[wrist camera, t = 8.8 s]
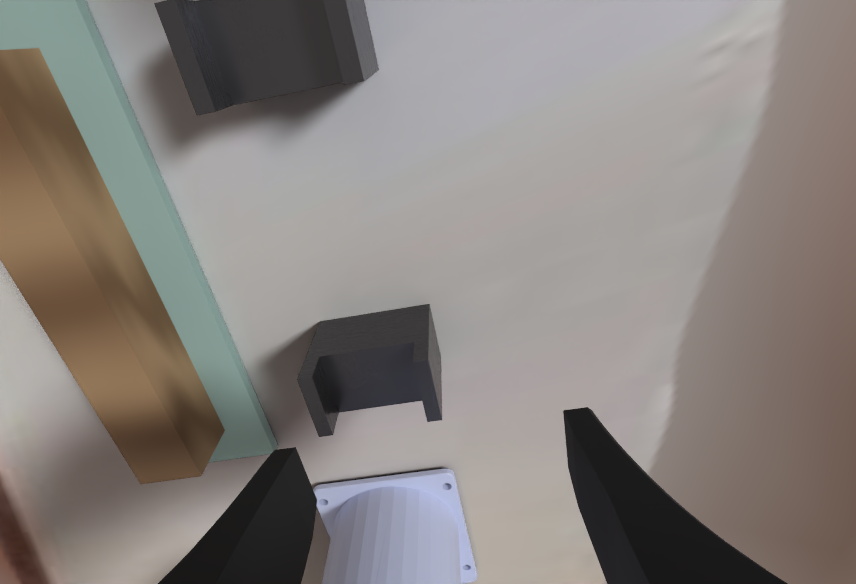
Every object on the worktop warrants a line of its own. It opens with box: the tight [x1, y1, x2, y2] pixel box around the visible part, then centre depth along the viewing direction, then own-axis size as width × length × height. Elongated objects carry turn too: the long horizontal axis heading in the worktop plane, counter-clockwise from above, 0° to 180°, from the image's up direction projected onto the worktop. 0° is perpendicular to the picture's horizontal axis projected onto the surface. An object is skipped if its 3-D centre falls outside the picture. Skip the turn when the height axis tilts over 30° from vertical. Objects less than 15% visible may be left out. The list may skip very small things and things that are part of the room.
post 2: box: [297, 304, 442, 437], centre depth 22 cm, size 3×5×4 cm, turn 101°
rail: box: [0, 48, 225, 484], centre depth 21 cm, size 18×3×3 cm, turn 11°
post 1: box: [154, 0, 379, 115], centre depth 16 cm, size 3×5×4 cm, turn 101°
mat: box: [0, 0, 278, 462], centre depth 22 cm, size 22×7×1 cm, turn 11°
